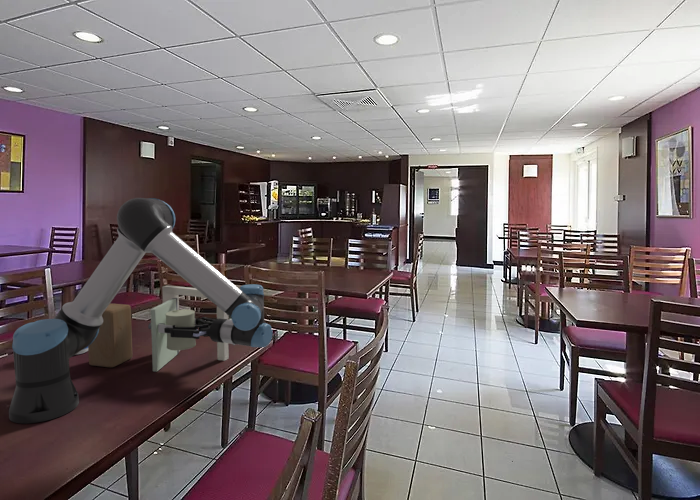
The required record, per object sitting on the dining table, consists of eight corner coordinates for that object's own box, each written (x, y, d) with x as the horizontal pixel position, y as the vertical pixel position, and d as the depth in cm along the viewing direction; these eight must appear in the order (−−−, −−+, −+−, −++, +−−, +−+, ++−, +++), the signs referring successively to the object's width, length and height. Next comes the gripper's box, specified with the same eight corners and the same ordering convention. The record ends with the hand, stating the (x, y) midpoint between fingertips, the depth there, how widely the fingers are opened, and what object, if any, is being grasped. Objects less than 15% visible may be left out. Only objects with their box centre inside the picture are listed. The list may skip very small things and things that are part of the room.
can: (185, 339, 147) (184, 306, 145) (201, 344, 141) (200, 310, 140) (161, 346, 139) (159, 311, 138) (176, 352, 134) (175, 316, 133)
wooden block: (112, 368, 140) (110, 310, 138) (87, 366, 142) (84, 308, 140) (133, 358, 150) (131, 304, 148) (109, 356, 152) (107, 302, 150)
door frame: (224, 360, 149) (223, 292, 146) (164, 351, 157) (162, 286, 155) (228, 358, 151) (227, 291, 148) (168, 349, 160) (167, 285, 157)
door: (147, 371, 138) (145, 309, 135) (170, 352, 155) (169, 297, 153) (162, 371, 138) (160, 309, 135) (183, 352, 155) (182, 297, 153)
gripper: (204, 353, 124) (145, 344, 131) (245, 332, 144) (191, 326, 152) (203, 328, 123) (144, 321, 131) (244, 311, 144) (191, 306, 151)
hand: (169, 324), depth 141 cm, fingers closed on can, 9 cm apart
